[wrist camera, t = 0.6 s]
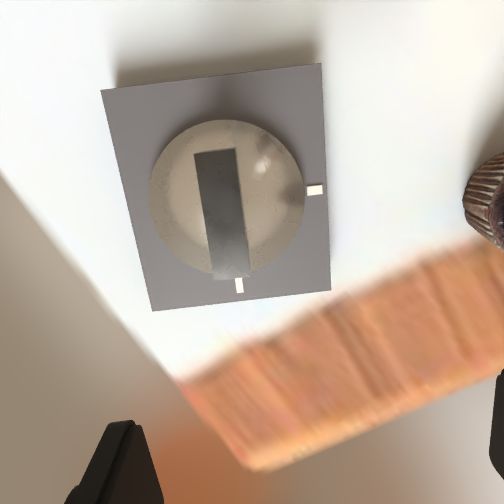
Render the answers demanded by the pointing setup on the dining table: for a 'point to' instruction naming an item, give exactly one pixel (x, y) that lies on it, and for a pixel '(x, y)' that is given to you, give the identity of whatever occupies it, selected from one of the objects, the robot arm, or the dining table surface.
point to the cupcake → (487, 200)
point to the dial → (226, 198)
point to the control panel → (221, 108)
